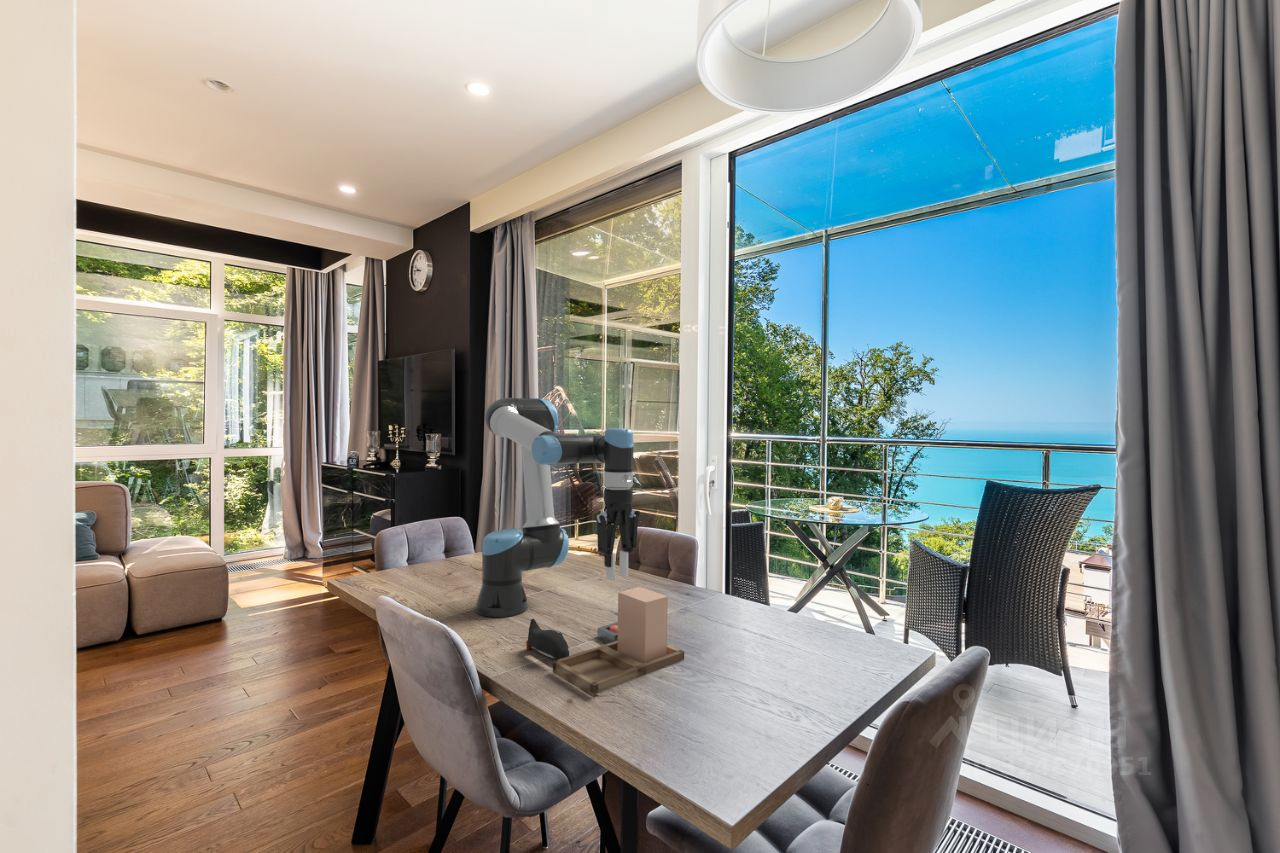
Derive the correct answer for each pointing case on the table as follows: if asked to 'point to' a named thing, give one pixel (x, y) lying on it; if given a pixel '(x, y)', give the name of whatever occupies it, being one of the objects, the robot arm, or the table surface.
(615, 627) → the stop button
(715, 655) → the table surface
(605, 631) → the button collar
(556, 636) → the figurine
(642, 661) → the tan block
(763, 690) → the table surface
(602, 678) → the wooden divided tray
